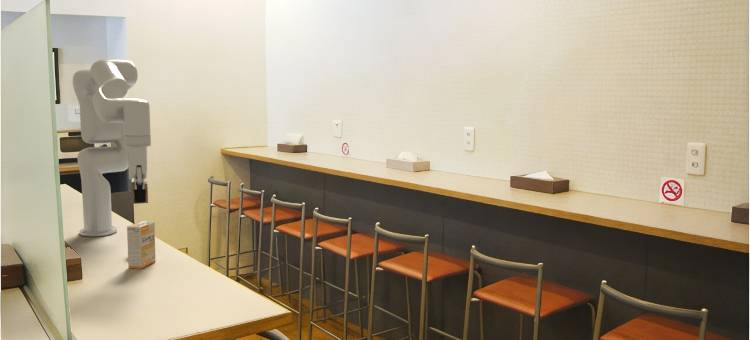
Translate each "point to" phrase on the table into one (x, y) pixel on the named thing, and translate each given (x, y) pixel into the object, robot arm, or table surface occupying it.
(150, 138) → the robot arm
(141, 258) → the supplement box
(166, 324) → the table surface
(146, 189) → the walnut block
